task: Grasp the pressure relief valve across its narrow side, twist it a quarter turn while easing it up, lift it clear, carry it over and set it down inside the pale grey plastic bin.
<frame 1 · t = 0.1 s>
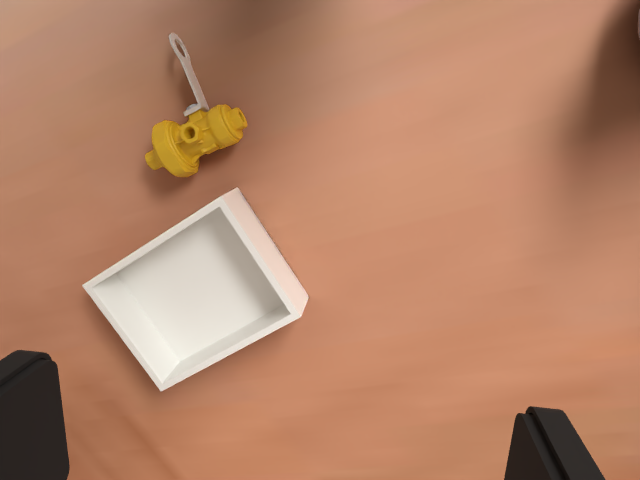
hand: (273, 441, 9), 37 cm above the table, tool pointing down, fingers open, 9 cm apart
pressure relief valve: (191, 106, 46), on the table
bin: (207, 282, 50), on the table
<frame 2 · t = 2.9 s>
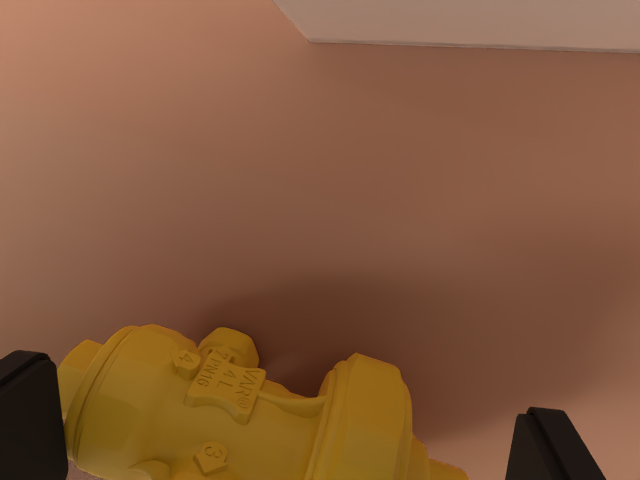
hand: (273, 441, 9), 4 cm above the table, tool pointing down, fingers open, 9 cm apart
pressure relief valve: (257, 463, 15), on the table, touching gripper
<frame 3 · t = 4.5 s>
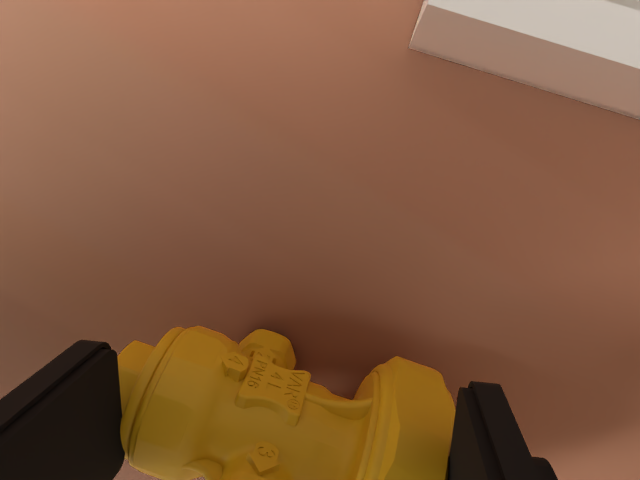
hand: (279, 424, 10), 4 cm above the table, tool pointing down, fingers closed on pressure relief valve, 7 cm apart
pressure relief valve: (289, 462, 16), on the table, touching gripper
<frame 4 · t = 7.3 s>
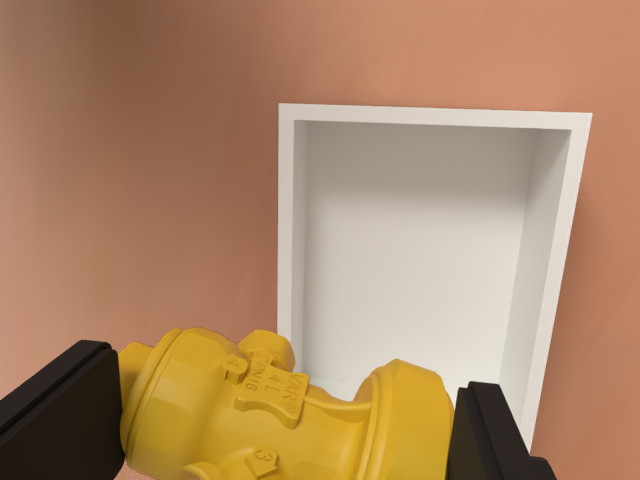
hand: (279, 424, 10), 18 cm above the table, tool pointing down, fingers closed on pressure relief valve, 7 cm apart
pressure relief valve: (289, 461, 16), point 14 cm above the table, touching gripper
bin: (407, 261, 28), on the table
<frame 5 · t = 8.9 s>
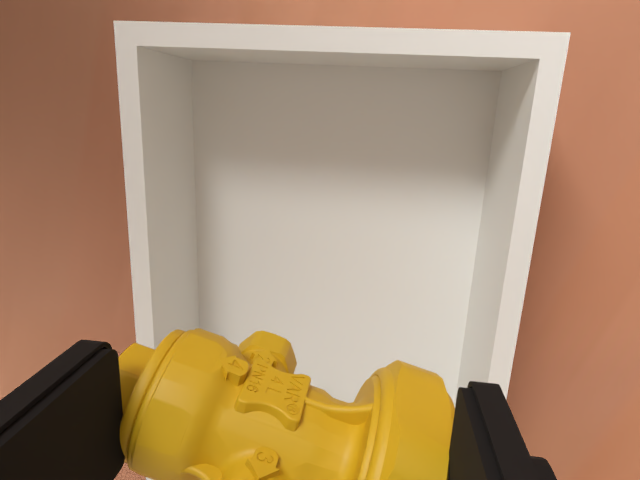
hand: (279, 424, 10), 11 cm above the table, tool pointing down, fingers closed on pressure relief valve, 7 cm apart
pressure relief valve: (290, 463, 16), point 7 cm above the table, touching gripper
bin: (332, 257, 21), on the table
when the fingers open (6 cm above the table, at t = 10.4 s): pressure relief valve stays where it is, resting on bin.
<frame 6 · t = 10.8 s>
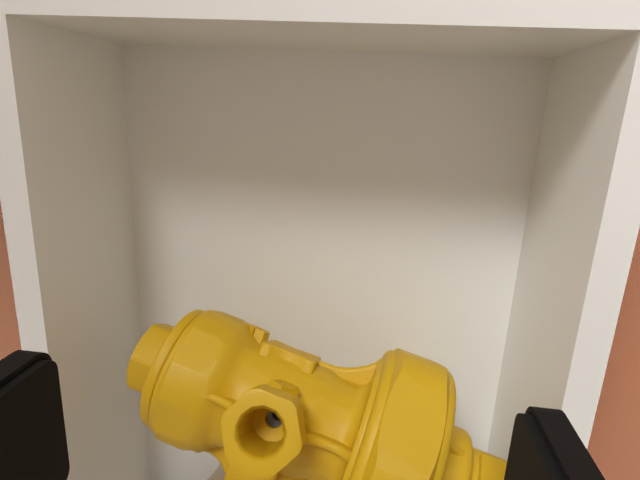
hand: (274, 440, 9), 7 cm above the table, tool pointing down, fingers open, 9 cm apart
bin: (317, 308, 16), on the table
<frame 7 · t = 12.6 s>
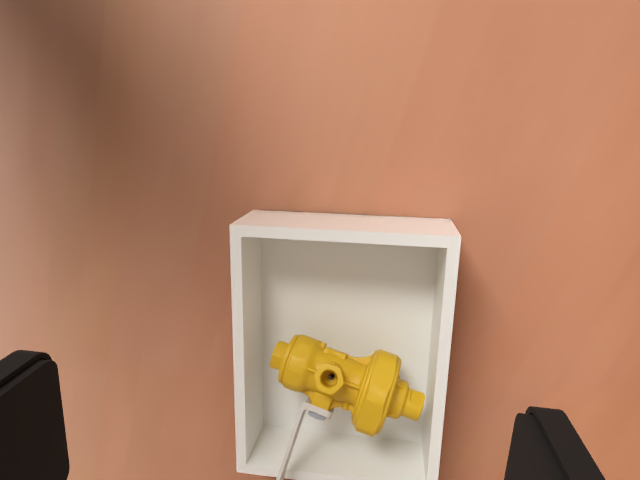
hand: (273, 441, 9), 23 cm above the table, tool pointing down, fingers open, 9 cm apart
pressure relief valve: (331, 430, 32), point 3 cm above the table, touching bin
bin: (344, 332, 34), on the table
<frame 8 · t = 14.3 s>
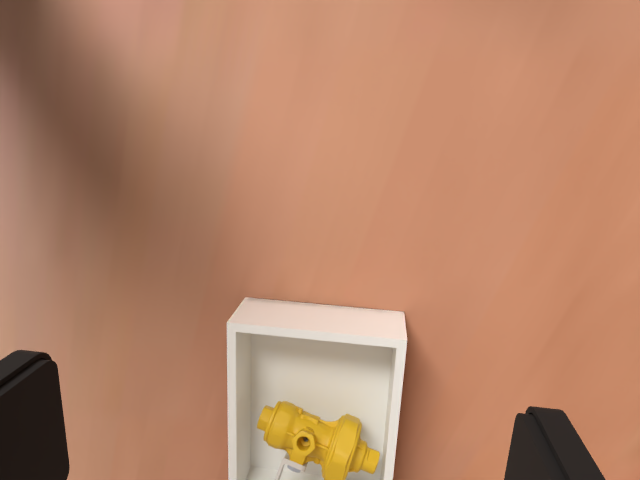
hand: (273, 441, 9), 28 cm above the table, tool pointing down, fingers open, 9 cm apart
pressure relief valve: (306, 476, 40), point 3 cm above the table, touching bin
bin: (318, 395, 42), on the table
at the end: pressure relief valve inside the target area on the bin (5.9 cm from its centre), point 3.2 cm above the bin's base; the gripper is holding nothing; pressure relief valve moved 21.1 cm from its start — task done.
